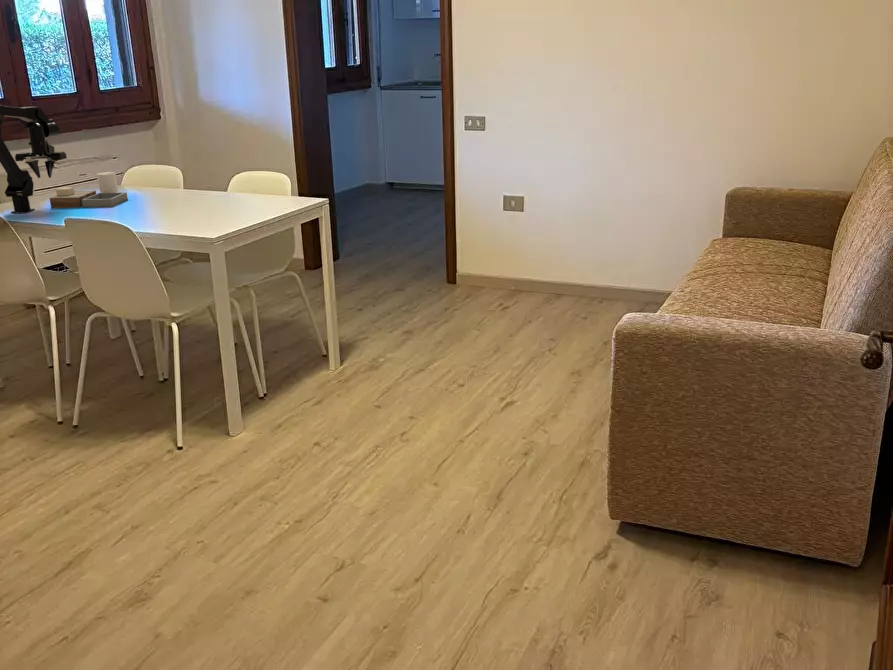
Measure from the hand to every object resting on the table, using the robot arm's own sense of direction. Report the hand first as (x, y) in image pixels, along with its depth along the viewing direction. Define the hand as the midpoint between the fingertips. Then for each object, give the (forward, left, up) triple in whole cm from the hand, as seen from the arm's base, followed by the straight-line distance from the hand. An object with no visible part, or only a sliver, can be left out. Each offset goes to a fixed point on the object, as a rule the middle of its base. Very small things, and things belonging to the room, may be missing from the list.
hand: (44, 177), depth 338 cm
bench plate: (0, -11, -11) cm, 15 cm away
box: (0, -24, -11) cm, 26 cm away
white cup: (+16, -19, -11) cm, 27 cm away
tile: (0, -8, -7) cm, 10 cm away
